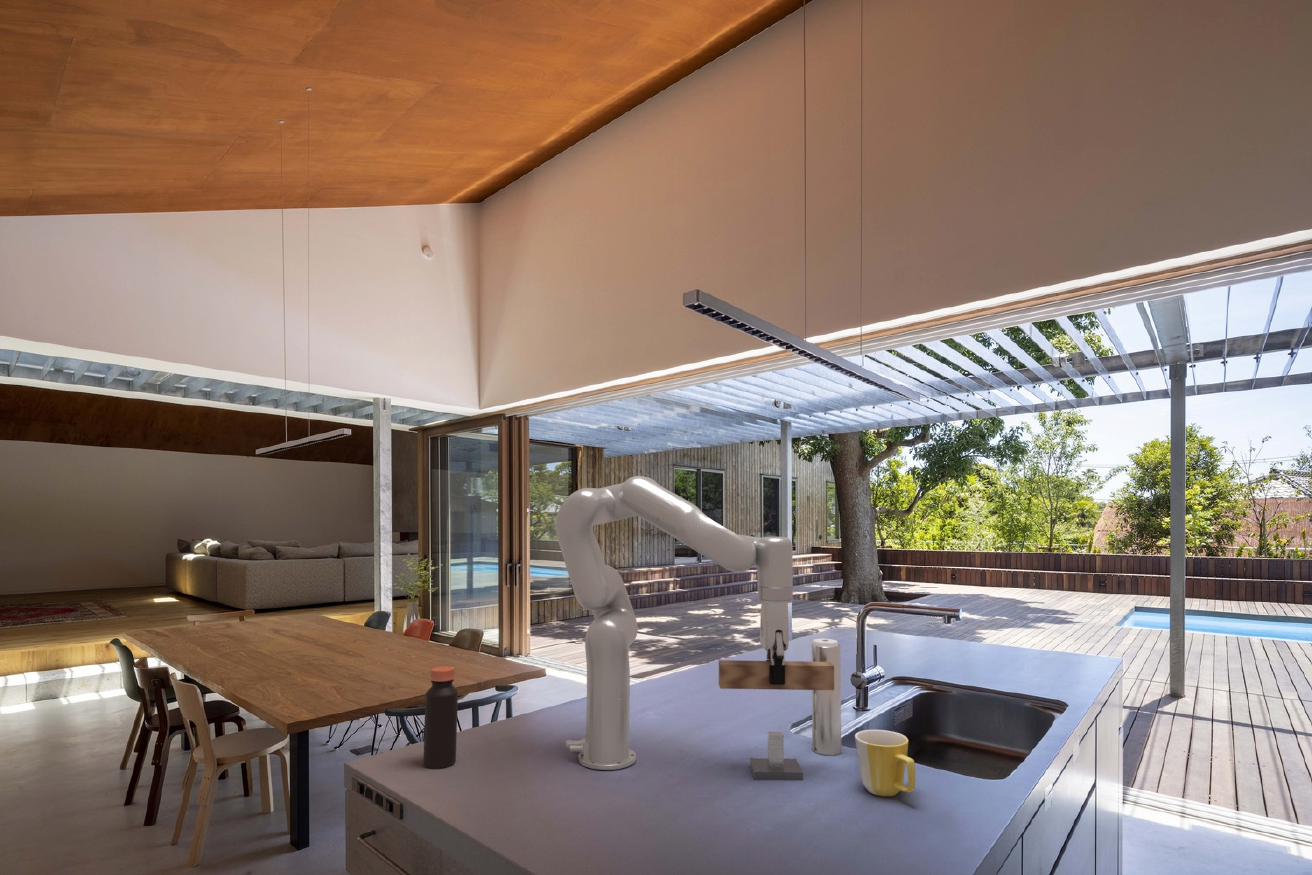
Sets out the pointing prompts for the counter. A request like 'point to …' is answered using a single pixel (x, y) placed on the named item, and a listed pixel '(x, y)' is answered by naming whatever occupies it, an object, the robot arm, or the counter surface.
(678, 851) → the counter surface
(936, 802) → the counter surface
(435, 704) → the bottle
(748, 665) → the walnut beam
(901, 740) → the mug
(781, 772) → the ridge
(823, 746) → the silver metal cylinder
